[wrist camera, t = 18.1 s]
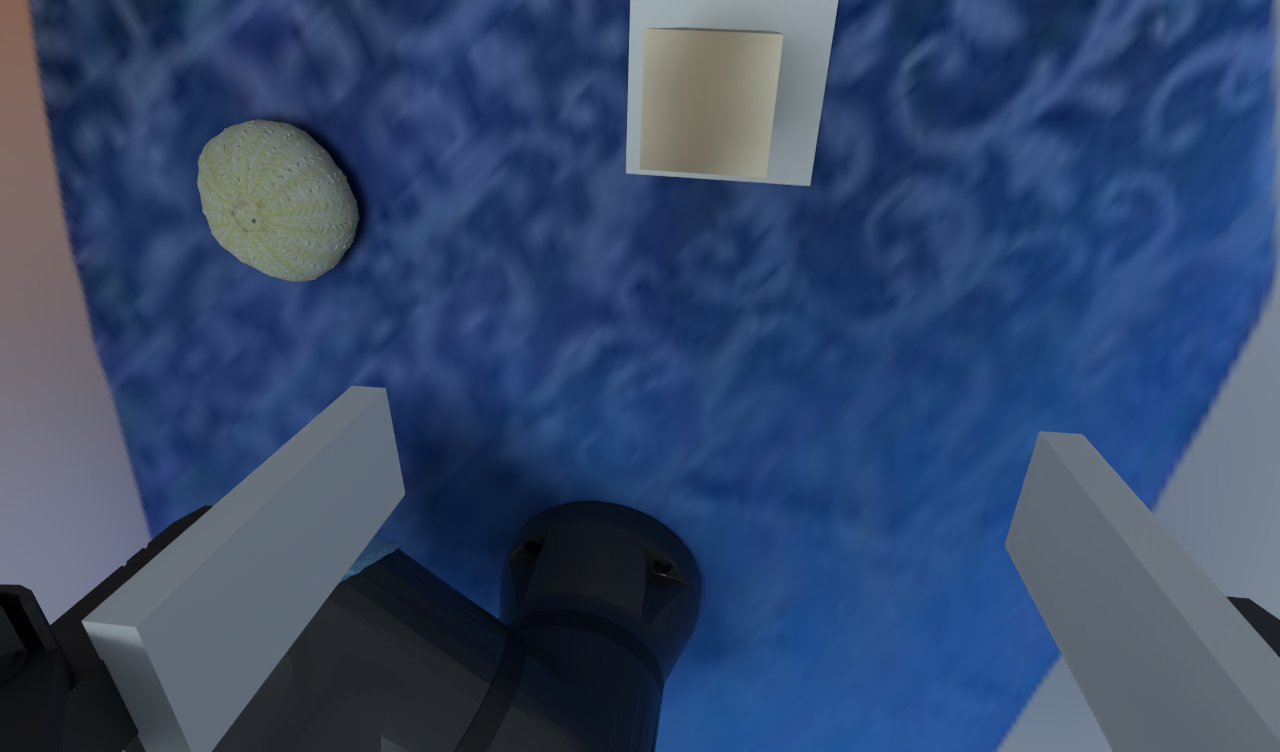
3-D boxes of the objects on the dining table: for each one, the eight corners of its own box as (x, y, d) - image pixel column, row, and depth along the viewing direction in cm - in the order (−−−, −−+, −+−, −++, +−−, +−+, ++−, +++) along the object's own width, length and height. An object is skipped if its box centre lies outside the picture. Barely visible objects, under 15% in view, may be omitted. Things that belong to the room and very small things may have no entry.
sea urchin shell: (301, 86, 37) (284, 214, 34) (390, 170, 44) (381, 280, 41) (168, 125, 39) (143, 247, 36) (273, 198, 46) (259, 305, 43)
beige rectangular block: (775, 31, 33) (783, 34, 21) (764, 128, 35) (766, 177, 24) (684, 27, 33) (644, 28, 22) (678, 123, 35) (639, 169, 24)
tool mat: (809, 183, 36) (809, 186, 36) (627, 171, 38) (626, 173, 37) (841, -32, 32) (843, -32, 31) (633, -38, 33) (631, -39, 32)
